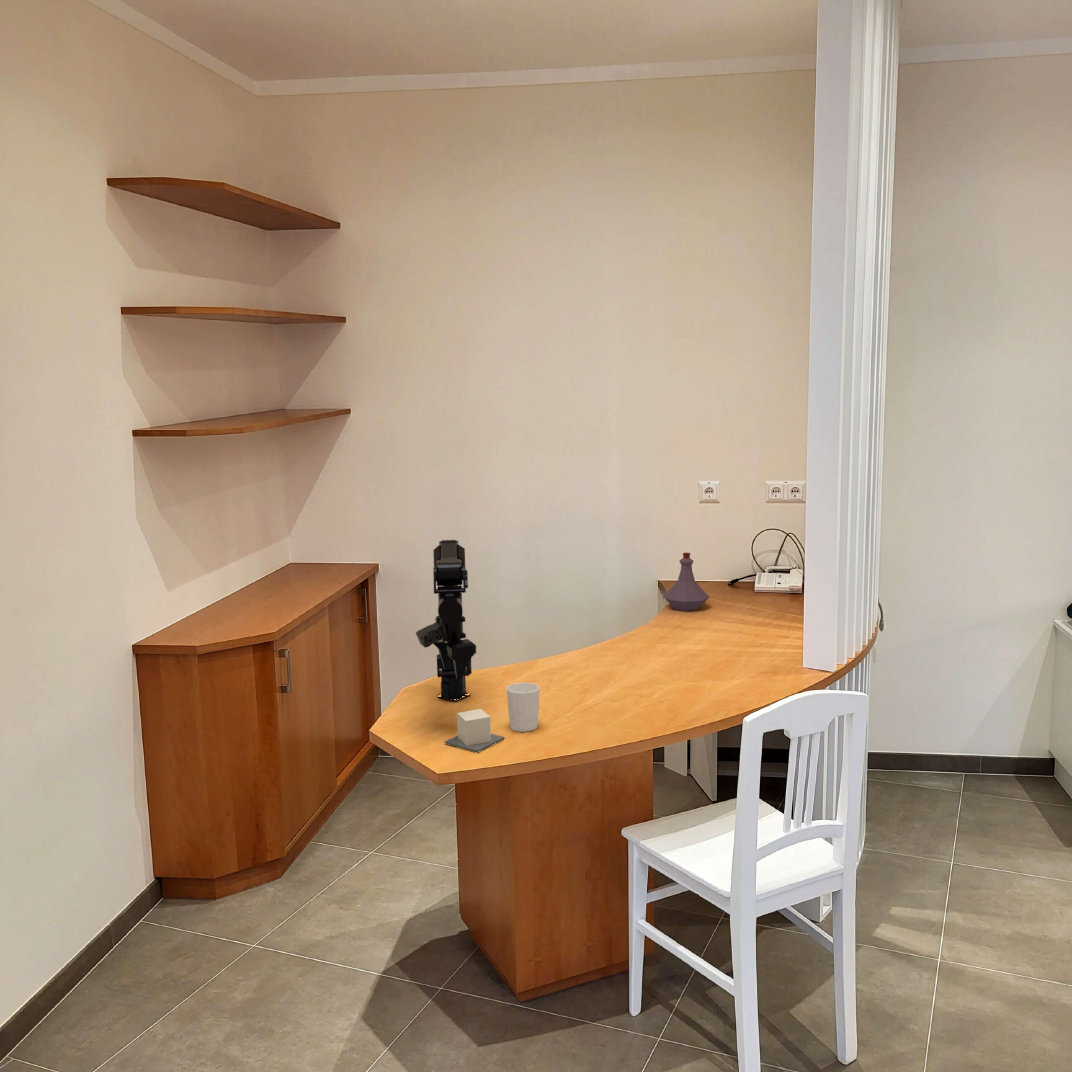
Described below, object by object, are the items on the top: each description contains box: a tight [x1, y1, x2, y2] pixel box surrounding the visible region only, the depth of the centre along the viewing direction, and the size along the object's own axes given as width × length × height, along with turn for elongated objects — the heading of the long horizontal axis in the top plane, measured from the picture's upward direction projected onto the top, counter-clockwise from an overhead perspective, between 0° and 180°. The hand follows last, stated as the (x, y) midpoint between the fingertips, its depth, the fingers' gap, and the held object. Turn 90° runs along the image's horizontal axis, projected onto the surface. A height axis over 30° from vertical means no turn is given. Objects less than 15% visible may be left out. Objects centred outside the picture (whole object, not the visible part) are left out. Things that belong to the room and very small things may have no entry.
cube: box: [456, 708, 492, 746], centre depth 231 cm, size 6×6×6 cm
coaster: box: [443, 733, 506, 754], centre depth 232 cm, size 10×10×1 cm
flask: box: [662, 552, 710, 612], centre depth 353 cm, size 16×16×20 cm
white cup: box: [506, 682, 540, 733], centre depth 240 cm, size 8×8×10 cm
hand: (452, 674), depth 244 cm, fingers open, 9 cm apart
